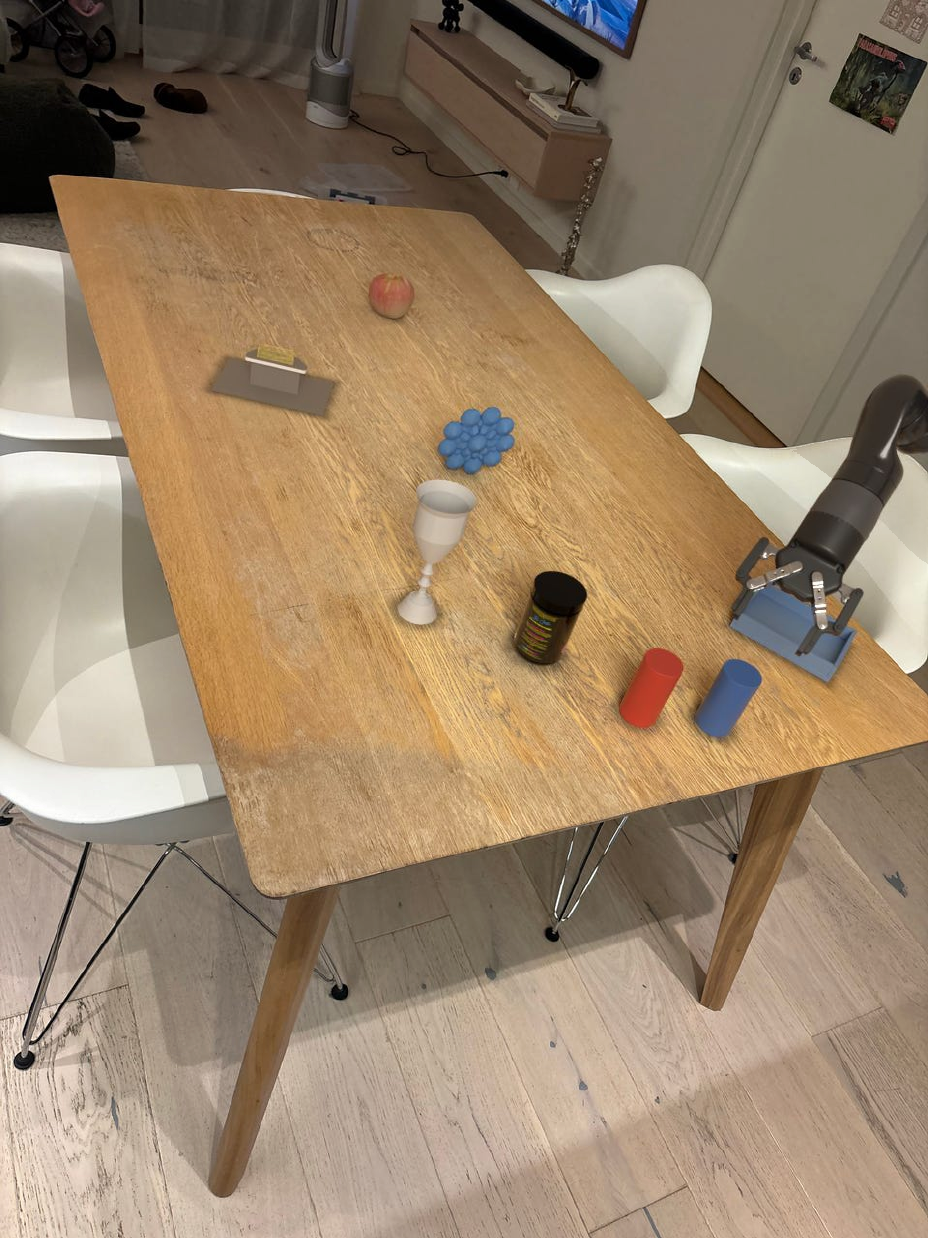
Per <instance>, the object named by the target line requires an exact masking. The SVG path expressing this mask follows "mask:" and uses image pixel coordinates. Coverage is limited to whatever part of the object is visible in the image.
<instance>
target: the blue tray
mask: <svg viewBox="0 0 928 1238" xmlns="http://www.w3.org/2000/svg"><path fill="white" fill-rule="evenodd" d="M827 620H828V621H830V622H836V620H837V618H835V617H833V616H832V615H829V614H827ZM812 626H814V620H813V614H812V610H811V604H809V603H808V602H804V603H803V602H801V601H800V600H798V599H797V598H796V597H795V596H794V595H792V594H788V593H785V592H783V591H782V590H781V588H780V587H779V586H777V585H775V586H772V587H770V588H765V589H762V590H759V591H757V592H754V594H753V597H752V599H751V600H750V602H749V603H748V605H747V606H746V608H745V609H744V611H743V613H742V614H741V616H740V617H739V619H738V620H735V619H734V618H732V621H731V622H730V624H729V627H730V628H732V629H734V631H737V632H738V633H740V634H742V635H744V636H746V637H747V638H749V639H750V640H752V641H754V642H756V643H757V644H759V645H761V646H763V647H764V648H766V649H768V650H769V651H771V652H773V653H775V654H777V655H778V656H780V657H782V658H784V659H786V660H787V661H789V662H791V663H792V664H795V666H798V667H800V668H801V669H803V670H805V671H806V672H808V673H810V674H812V675H814V676H815V677H817V678H819V679H821V680H822V681H824V682H825V683H826V684H827V683H829V681H830V680H831V679H832V678H833V676H834V675H835V673H836V672H837V670H838V668H839V667H840V665H841V663H842V661H843V659H844V658H845V656H846V654H847V652H848V650H849V648H850V647H851V644H852V643H853V641H854V639H855V637H856V635H857V633H858V630H856V629H854V628H852V627H851V626H849V625H848V624H847V625H846V627H845V629H844V631H843V632H842V633H841V634H840V635H839V636H834V635H832V634H828V633H824V634H822V635H821V636H820V638H819V639H818V641H817V642H816V644H815V646H814V647H813V649H812V650H811V652H810V653H808V654H807V655H805V654H804V653H802V655H801V656H800V657H799V656H797V655H796V654H795V653H796V651H797V650H798V648H799V646H800V645H801V643H802V642H803V640H804V639H805V637H806V635H807V634H808V632H809V631H810V629H811V628H812Z"/></svg>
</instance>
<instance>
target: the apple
mask: <svg viewBox="0 0 928 1238" xmlns="http://www.w3.org/2000/svg"><path fill="white" fill-rule="evenodd" d="M414 299H415V289H414V285H413V284H412V282H411V280H410V279H409V278H408V277H406V276H404V275H402V274H400V273H399V274H398V273H394V272H385V273H380V274H378V275H376V276H375V277H374V278H372V280H371V282H370V284H369V287H368V300H369V303H370V306H371V308H372V309H373V310H374V311H375V312H376V313H377V314H378V315H380V316H382V317H385V318H386V319H387V318H388V319H392V320H398V319H400V318H403V317H404V316H405V315H407V313H408V312H409V311H410V309H411V307H412V305H413V303H414Z"/></svg>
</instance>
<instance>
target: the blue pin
mask: <svg viewBox="0 0 928 1238" xmlns="http://www.w3.org/2000/svg"><path fill="white" fill-rule="evenodd" d="M762 681H763V677H762V675H761V673H760V670H758V669H757V668H756V667H755V666H754V665H752V663H749V662H747V661H746V660H742V659H739V658H730V659H728V660H726V661H725V662H724V663H723V665H722V666H721V668H720V670H719V671H718V674H717V675H716V676H715V678H714V680H713V682H712V683H711V686H710V687H709V689H708V690H707V692H706V694H705V696H704V697H703V700H701V703H700V704H699V706H698V708H697V710H696V711H695V712H694V721H695V724H696V725H697V727H698V728H699V729H700V730H701V731H702V732H704V733H705V734H707V735H708V736H710V737H714V738H726V737H727V736H729V735H730V734H731V732H732V731H733V729H734V728H735V726H736V724H737V723H738V721H739V720H740V719H741V717H742V715H743V713H744V712H745V710H746V709H747V707H748V705H749V704H750V702H751V700H752V699H753V698H754V697H755V694H756V693H757V691H758V690H759V688H760V686H761V685H762V683H763V682H762Z"/></svg>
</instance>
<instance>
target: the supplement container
mask: <svg viewBox="0 0 928 1238" xmlns="http://www.w3.org/2000/svg"><path fill="white" fill-rule="evenodd" d="M587 598H588V591H587V589H586V587H585V585H583V583H582V582H581V581H580V580H578V579H577V578H576V577H574V576H572V575H570V574H568V573H565V572H562V571H558V570H546V571H542V572H540V573H538V574H537V575H536V576H535V577H534V579H533V583H532V585H531V587H530V591H529V594H528V597H527V600H526V602H525V604H524V608H523V611H522V614H521V616H520V619H519V622H518V625H517V628H516V631H515V632H514V635H513V640H512V641H513V647H514V650H515V652H516V653H517V654H518V656H519V657H520V658H521V659H523V660H524V661H525V662H527V663H529V664H532V665H534V666H539V667H549V666H552V665H555V664H557V663H558V662H559V661H560V660H562V658H563V656H564V653H565V651H566V649H567V647H568V644H569V642H570V639H571V637H572V634H573V633H574V630H575V627H576V625H577V622H578V620H579V618H580V615H581V613H582V611H583V609H584V607H585V603H586V601H587Z"/></svg>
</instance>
